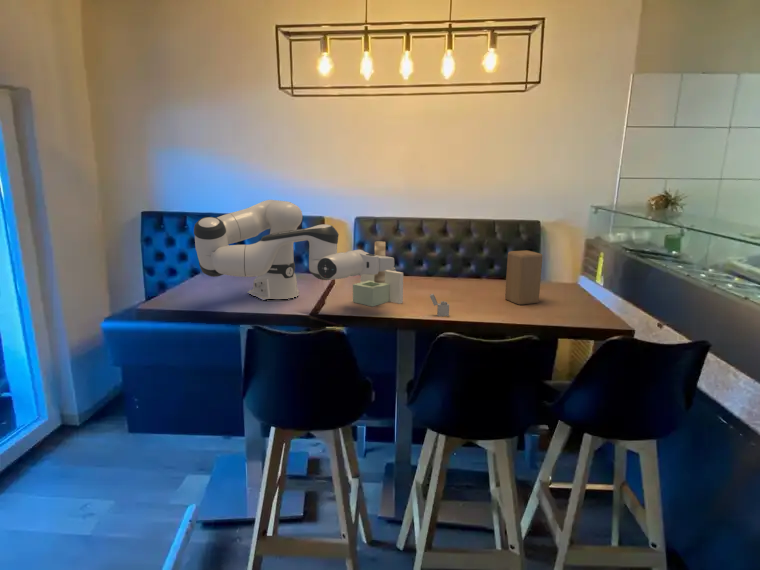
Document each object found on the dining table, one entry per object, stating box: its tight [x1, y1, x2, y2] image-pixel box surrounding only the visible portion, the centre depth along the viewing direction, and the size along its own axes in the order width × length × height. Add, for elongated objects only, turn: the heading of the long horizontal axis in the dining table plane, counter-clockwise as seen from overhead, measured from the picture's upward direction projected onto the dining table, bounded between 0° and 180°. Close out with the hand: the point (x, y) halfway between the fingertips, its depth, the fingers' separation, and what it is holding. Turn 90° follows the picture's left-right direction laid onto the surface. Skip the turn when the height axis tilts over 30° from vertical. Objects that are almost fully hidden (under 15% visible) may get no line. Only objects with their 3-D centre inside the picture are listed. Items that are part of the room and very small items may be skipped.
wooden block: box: [504, 249, 543, 306], centre depth 204 cm, size 10×10×20 cm
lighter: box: [429, 293, 450, 317], centre depth 185 cm, size 7×2×8 cm, turn 81°
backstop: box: [360, 270, 404, 304], centre depth 195 cm, size 20×21×13 cm
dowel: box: [374, 240, 386, 283], centre depth 190 cm, size 4×4×15 cm
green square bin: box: [352, 280, 389, 308], centre depth 198 cm, size 10×10×7 cm
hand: (381, 257), depth 190 cm, fingers closed on dowel, 4 cm apart
